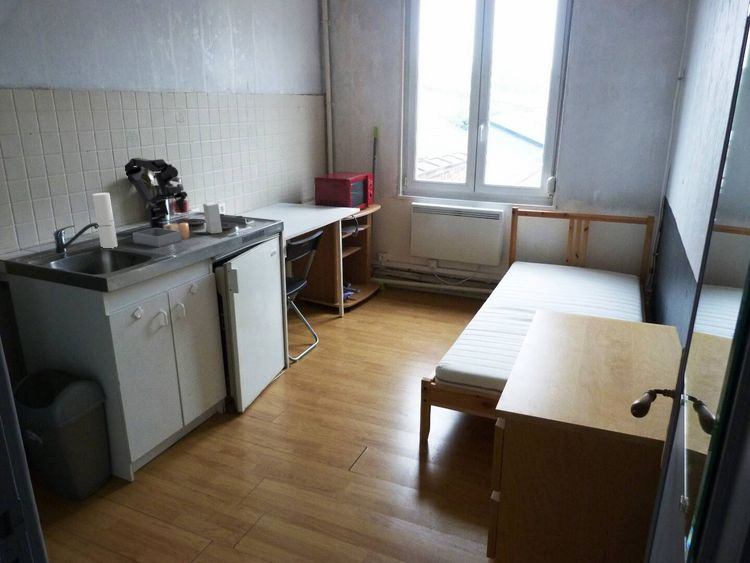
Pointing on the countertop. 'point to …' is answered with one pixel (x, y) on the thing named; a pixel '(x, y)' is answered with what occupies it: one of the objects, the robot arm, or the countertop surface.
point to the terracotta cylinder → (184, 230)
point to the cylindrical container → (105, 220)
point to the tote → (157, 237)
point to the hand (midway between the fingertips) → (175, 213)
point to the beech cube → (171, 227)
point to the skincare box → (212, 218)
